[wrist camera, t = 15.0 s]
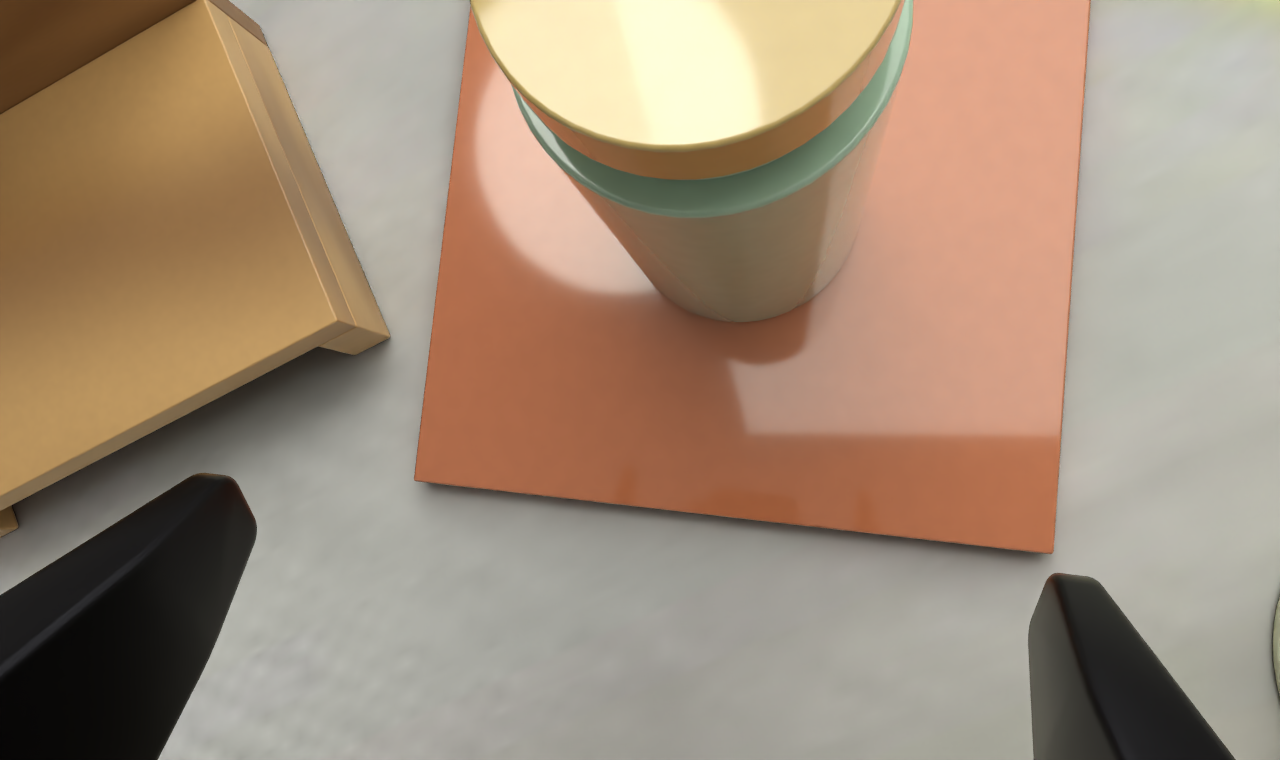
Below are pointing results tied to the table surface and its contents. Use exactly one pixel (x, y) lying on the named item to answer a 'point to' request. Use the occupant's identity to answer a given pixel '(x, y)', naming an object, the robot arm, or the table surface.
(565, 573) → the table surface
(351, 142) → the table surface
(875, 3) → the jar
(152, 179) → the shelf
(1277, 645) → the can
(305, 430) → the table surface
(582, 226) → the trivet
